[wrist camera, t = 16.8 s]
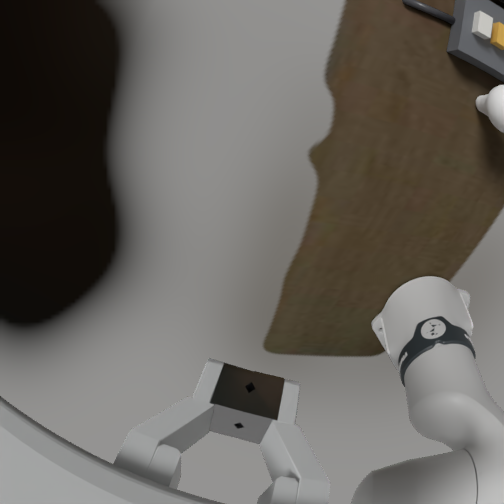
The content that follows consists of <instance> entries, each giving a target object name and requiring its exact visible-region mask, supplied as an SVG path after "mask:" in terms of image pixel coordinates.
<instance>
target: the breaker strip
mask: <svg viewBox="0 0 504 504" xmlns="http://www.w3.org/2000/svg"><path fill="white" fill-rule="evenodd" d="M402 1H403V3H404V4H406V5H409V6H411V7H414V8H416V9H419V10H421V11H424V12H426V13H428V14H431V15H433V16H435V17H437V18H440V19H442V20H444V21H446V22H448V23H450V24H452V25H451V31H450V37H449V42H448V48H447V52H448V53H450V54H452V55H455V56H457V57H459V58H461V59H463V60H464V61H466V62H468V63H470V64H472V65H474V66H476V67H478V68H479V69H481V70H483V71H485V72H487V73H488V74H490V75H492V76H493V77H495V78H497V79H498V80H500V81H502V82H503V83H504V9H502V8H501V7H499V6H498V5H496V4H494V3H493V2H491V1H489V0H455V6H454V13H453V17H452V16H450V15H448V14H446V13H444V12H442V11H440V10H437V9H435V8H433V7H431V6H428V5H426V4H424V3H421V2H419V1H416V0H402Z"/></svg>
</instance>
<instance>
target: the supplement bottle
mask: <svg viewBox="0 0 504 504" xmlns="http://www.w3.org/2000/svg"><path fill="white" fill-rule="evenodd" d="M492 1H493V2H494V3H495V4H497V5H498V6H500V7H502V8H504V0H492Z"/></svg>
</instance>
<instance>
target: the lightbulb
mask: <svg viewBox="0 0 504 504" xmlns="http://www.w3.org/2000/svg"><path fill="white" fill-rule="evenodd" d="M476 107H477V109H478V110H479V111H480V112H482V113H484V114H485V115H487V116H488V117H489V119H490V121H491V123H492V124H493V125H494V126H495V127H496V128H497V129H498V130H499V131H501V132H503V133H504V85H499V86H497V87H494V88H493V89H492V90H491V91H490V92H489V94H486V95H481V96H479V97H477V99H476Z"/></svg>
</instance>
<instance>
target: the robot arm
mask: <svg viewBox="0 0 504 504" xmlns="http://www.w3.org/2000/svg"><path fill="white" fill-rule="evenodd" d="M469 303H470V295H469V293H468V292H467V291H465V290H462V289H457V288H456V287H454V286H453V285H452V284H451V283H450V282H449V281H447V280H445V279H443V278H440V277H434V276H427V277H420V278H417V279H414V280H411V281H409V282H407V283H405V284H404V285H402V286H401V287H399V288H398V289H397V290H396V291H395V292H394V293H393V294H392V295H391V296H390V298H389V299H388V301H387V302H386V304H385V307H384V309H383V310H382V312H381V313H380V314H379V315H378V316H376V317H375V318H374V319H373V321H372V323H371V325H372V328H373V330H374V332H375V334H376V335H377V337H378V339H379V340H380V342H381V344H382V346H383V347H384V349H385V351H386V352H387V354H388V356H389V358H390V359H391V361H392V363H393V365H394V366H395V368H396V369H397V370H398V371H399V374H400V378H401V381H402V384H403V385H404V387H405V390H406V396H407V404H408V411H409V419H410V421H411V423H412V425H413V427H414V428H415V429H416V430H417V431H418V432H419V433H420V434H421V435H422V436H424V437H426V438H429V439H432V440H436V441H439V442H442V443H444V444H446V445H447V446H449V447H450V448H451V449H452V450H453V451H452V452H448V453H443V454H438V455H434V456H428V457H422V458H417V459H410V460H407V461H403V462H400V463H397V464H394V465H390V466H387V467H384V468H381V469H378V470H374V471H372V472H370V473H369V474H368V475H367V476H366V477H365V478H364V479H363V481H362V482H361V483H360V484H359V486H358V488H357V489H356V491H355V493H354V496H353V498H352V502H351V504H504V411H503V410H502V409H501V408H500V407H499V406H498V405H497V404H496V402H494V400H493V398H492V397H491V396H490V394H489V392H488V391H487V388H486V386H485V383H484V381H483V379H482V376H481V374H480V371H479V369H478V367H477V364H476V361H475V351H474V346H473V343H472V341H471V339H470V336H472V328H473V323H472V320H471V318H470V315H469V312H468V308H469ZM380 328H382V329H380ZM299 392H300V383H299V382H297V381H293V380H288V379H284V378H281V377H276V376H273V375H268V374H264V373H260V372H256V371H250V370H247V369H243V368H240V367H237V366H234V365H230V364H227V363H224V362H221V361H217V360H214V359H211V358H209V359H208V361H207V363H206V365H205V367H204V370H203V372H202V375H201V377H200V380H199V382H198V385H197V387H196V389H195V392H194V395H193V397H189V396H187V397H186V398H184V399H182V400H181V401H179V402H178V403H176V404H174V405H173V406H171V407H169V408H168V409H166V410H164V411H162V412H161V413H159V414H157V415H155V416H154V417H152V418H150V419H148V420H147V421H145V422H143V423H142V424H140V425H138V426H136V427H134V428H133V429H131V430H130V432H129V434H128V436H127V438H126V440H125V442H124V444H123V445H122V447H121V449H120V451H119V453H118V455H117V457H116V459H115V461H114V463H113V464H112V463H109V462H107V461H105V460H103V459H101V458H99V457H97V456H95V455H93V454H91V453H89V452H87V451H85V450H84V449H82V448H80V447H78V446H76V445H74V444H72V443H71V442H69V441H67V440H65V439H64V438H62V437H60V436H59V435H57V434H55V433H53V432H52V431H50V430H49V429H47V428H45V427H44V426H42V425H41V424H39V423H38V422H36V421H34V420H33V419H32V418H30V417H28V416H27V415H26V414H24V413H23V412H21V411H20V410H18V409H17V408H16V407H14V406H13V405H11V404H10V403H9V402H7V401H6V400H5V399H3V398H2V397H1V396H0V504H224V503H220V502H217V501H213V500H209V499H206V498H202V497H199V496H195V495H192V494H189V493H186V492H183V491H180V490H177V486H178V484H179V481H180V477H181V453H183V452H184V451H185V450H187V449H188V448H189V447H191V446H192V445H193V444H195V443H196V442H197V441H198V440H200V439H201V438H202V437H204V436H205V435H206V434H208V433H209V431H212V432H216V433H219V434H223V435H227V436H231V437H235V438H239V439H242V440H246V441H249V442H253V443H257V444H260V445H259V446H260V449H261V451H262V454H263V457H264V460H265V463H266V465H267V468H268V470H269V473H270V476H271V478H272V481H273V483H272V484H271V485H270V487H269V488H268V489H267V490H266V491H265V492H264V493H263V494H262V495H261V496H260V497H259V498H258V502H257V504H328V499H329V490H330V481H329V480H328V478H327V476H326V474H325V472H324V470H323V468H322V467H321V465H320V463H319V461H318V459H317V457H316V456H315V454H314V452H313V450H312V449H311V446H310V445H309V443H308V441H307V439H306V437H305V435H304V433H303V431H302V429H301V428H300V426H298V425H295V422H296V415H297V407H298V400H299Z"/></svg>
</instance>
